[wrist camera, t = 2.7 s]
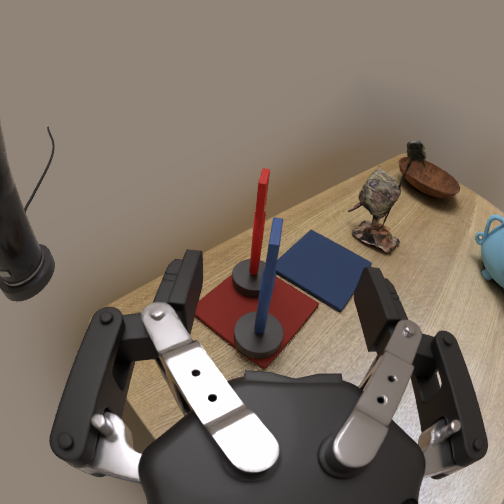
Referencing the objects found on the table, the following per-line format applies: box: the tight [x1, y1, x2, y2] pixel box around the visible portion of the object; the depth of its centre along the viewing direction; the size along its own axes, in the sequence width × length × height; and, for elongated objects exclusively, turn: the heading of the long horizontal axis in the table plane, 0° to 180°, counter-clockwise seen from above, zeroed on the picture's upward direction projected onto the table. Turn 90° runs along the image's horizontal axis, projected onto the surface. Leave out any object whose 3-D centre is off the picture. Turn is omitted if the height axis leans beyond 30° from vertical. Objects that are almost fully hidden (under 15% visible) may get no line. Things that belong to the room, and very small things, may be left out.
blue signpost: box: [234, 217, 284, 359], centre depth 27 cm, size 6×6×16 cm
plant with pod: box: [348, 141, 426, 252], centre depth 44 cm, size 8×11×20 cm
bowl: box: [399, 157, 460, 198], centre depth 68 cm, size 20×22×5 cm
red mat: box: [195, 275, 319, 369], centre depth 36 cm, size 12×12×1 cm
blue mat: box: [275, 230, 372, 312], centre depth 43 cm, size 12×12×1 cm
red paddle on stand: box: [232, 169, 270, 298], centre depth 34 cm, size 6×6×16 cm
